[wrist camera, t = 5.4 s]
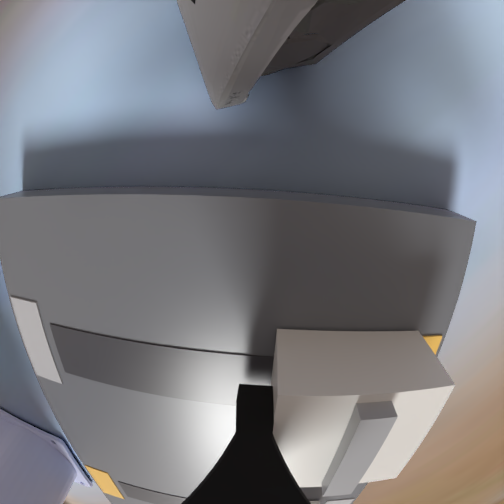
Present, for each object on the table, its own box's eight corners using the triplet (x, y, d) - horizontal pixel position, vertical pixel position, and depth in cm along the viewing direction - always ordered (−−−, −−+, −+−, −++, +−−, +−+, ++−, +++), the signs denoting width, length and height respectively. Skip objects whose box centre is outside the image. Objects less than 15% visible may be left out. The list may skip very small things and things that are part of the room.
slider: (265, 427, 11) (262, 500, 8) (277, 328, 9) (278, 413, 6) (380, 424, 11) (399, 489, 7) (418, 330, 9) (463, 398, 6)
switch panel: (122, 494, 19) (116, 510, 17) (22, 190, 11) (-10, 199, 9) (324, 517, 18) (325, 535, 16) (447, 209, 10) (477, 222, 8)
